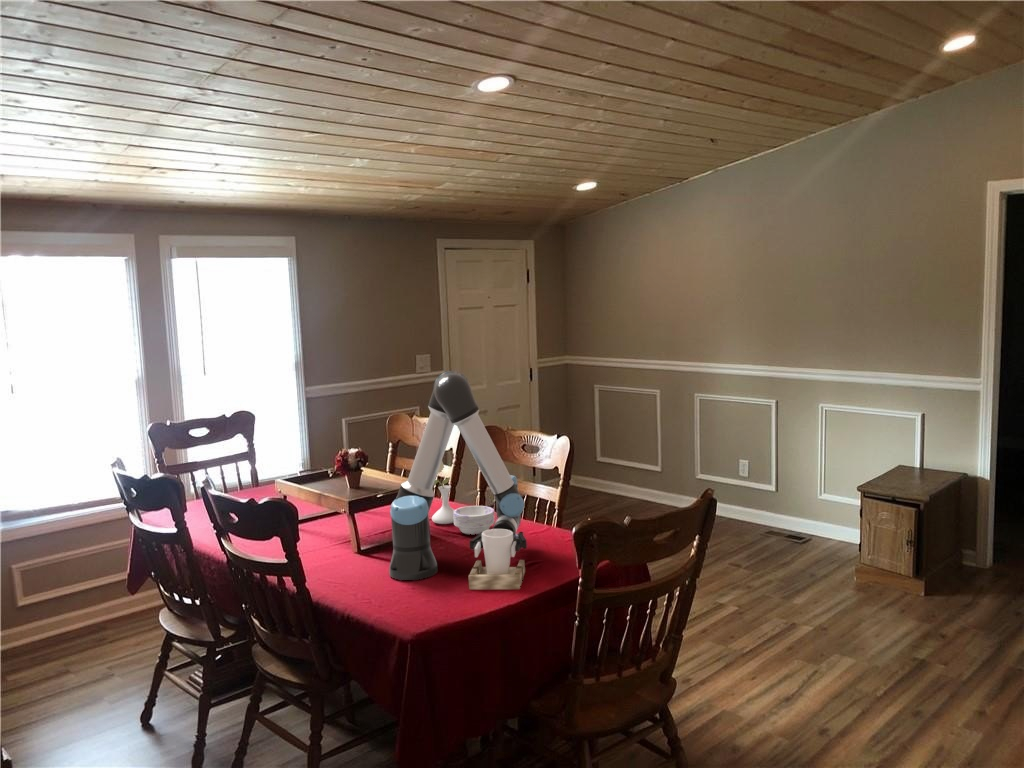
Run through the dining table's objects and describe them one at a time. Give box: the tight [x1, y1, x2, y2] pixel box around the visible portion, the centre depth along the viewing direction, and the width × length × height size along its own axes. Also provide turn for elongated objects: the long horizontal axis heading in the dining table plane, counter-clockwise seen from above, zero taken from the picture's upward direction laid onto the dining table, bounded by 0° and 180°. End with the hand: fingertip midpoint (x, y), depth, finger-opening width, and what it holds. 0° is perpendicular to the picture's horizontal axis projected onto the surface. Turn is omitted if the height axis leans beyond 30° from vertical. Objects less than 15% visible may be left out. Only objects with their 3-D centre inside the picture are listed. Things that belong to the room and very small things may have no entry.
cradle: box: [467, 559, 526, 590], centre depth 242 cm, size 16×15×4 cm
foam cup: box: [482, 528, 513, 574], centre depth 241 cm, size 10×9×13 cm
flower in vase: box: [431, 460, 455, 525], centre depth 307 cm, size 13×11×25 cm
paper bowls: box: [453, 505, 496, 536], centre depth 294 cm, size 15×15×8 cm
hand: (494, 552), depth 237 cm, fingers open, 10 cm apart
